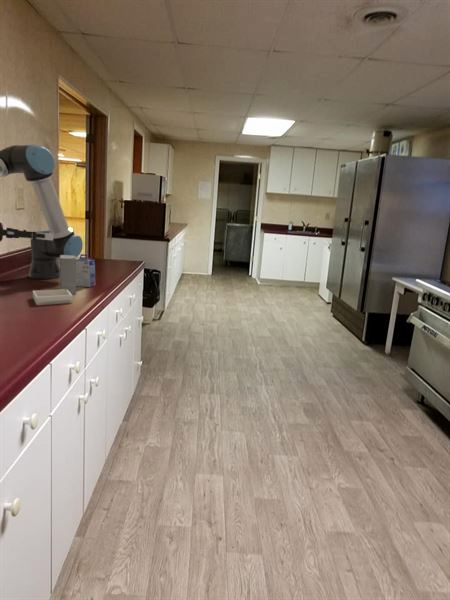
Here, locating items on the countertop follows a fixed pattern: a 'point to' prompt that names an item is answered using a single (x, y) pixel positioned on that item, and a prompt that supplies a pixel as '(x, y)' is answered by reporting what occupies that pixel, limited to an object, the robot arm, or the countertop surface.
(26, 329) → the countertop surface
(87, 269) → the ink cartridge box
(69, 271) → the skincare box
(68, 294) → the tray
